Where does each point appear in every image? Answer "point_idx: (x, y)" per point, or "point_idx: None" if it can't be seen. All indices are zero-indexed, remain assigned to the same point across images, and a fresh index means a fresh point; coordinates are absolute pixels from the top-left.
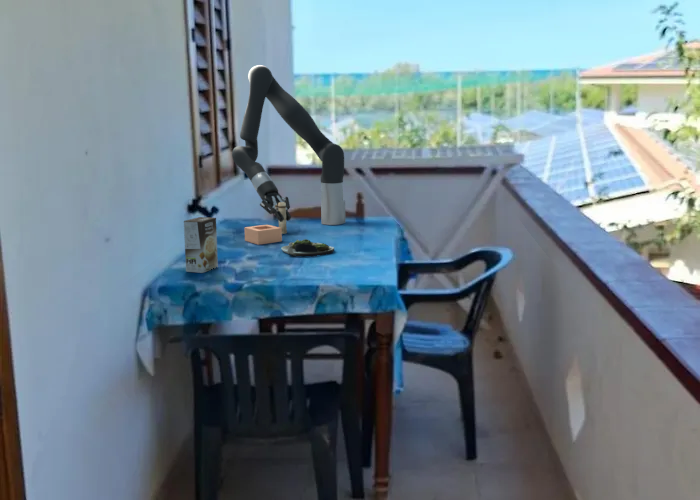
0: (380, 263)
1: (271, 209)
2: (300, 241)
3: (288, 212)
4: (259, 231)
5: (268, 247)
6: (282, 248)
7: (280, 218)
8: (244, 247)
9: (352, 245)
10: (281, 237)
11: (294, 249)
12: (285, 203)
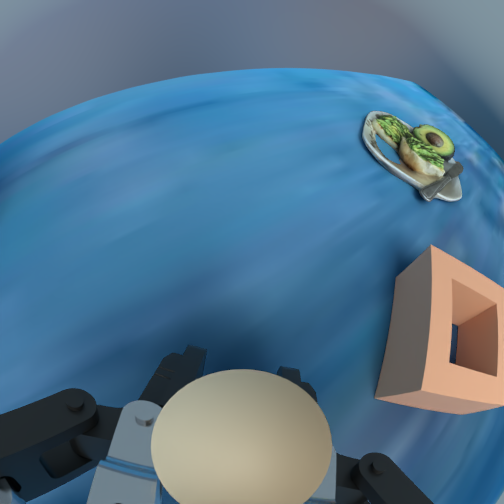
0: (367, 78)
1: (395, 470)
2: (426, 156)
3: (148, 387)
4: (500, 288)
5: (464, 257)
6: (461, 192)
7: (308, 388)
8: None
9: (293, 101)
10: (406, 269)
11: (447, 165)
12: (216, 373)
